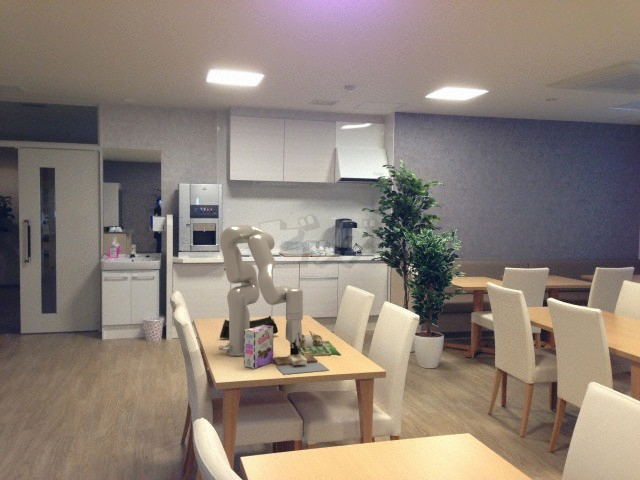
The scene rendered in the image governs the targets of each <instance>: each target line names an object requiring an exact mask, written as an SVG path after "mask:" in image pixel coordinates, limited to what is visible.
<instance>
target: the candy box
mask: <svg viewBox="0 0 640 480" xmlns="http://www.w3.org/2000/svg"><path fill="white" fill-rule="evenodd" d="M273 358H274V334H273V326H268V325H261V326H258V327H254V328H250V329H246V330H244V356H243V367H244V368H248V369H251V370H256V369H259V368H261V367H265V366H267V365H269V364H273V363H274V362H273Z"/></svg>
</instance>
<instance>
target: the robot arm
mask: <svg viewBox="0 0 640 480" xmlns="http://www.w3.org/2000/svg"><path fill="white" fill-rule="evenodd" d="M238 244H239V245H240V244H247V246H248V248H249V251H250V253H251V256H252V259H254V263H255V265H256V267H257V270H258V274H257V271H256V268H255V266H254V265H253V264H252V263H251V262H247V261H243V256H242V253H241V250H240V248H239V247H238ZM219 246H220V249H221V253H222V257H223V264H224V269H225V275H226V280H227V281H228V282H229V283H230V284H240V285H239V286H234V287H231V289H230V290H229V291H228V292H227V296H226V301H227V305H228V316H229V317H228V320H229V338H228V342H227V344H225V345H219V346H218V350H219V351H225V354H226V355H227V356H231V357H244V330H246V329H250V321H251V320H250V317H251V316H250V312H249V308H248V306H249V305H252V304H253V305H254V304H255V303H257V302H258V300H259V298H260V294H261V295H262V298H263V300H265V302H266V303H267V304H268V305H270V306H275V305H280V304H283V303H284V304H285V320H286V323H285V339H286V340H287V341H288V342H289V348H290V349H289V350H290V351H289V352H290V353H289V355H296V354H298V346H299V342H301V341H302V334H303V327H302V321H303V320H304V319H303V318H304V317H303V315H304V311H303V309H304V302H303V301H304V294H303V289H302V288H300V287H290V286H287V285H281V286H280V285H279V286H275V284H274V282H273V278H272V272H273V269H274V268H275V267H276V265H277V262H276V259H275V258H274V255H273V253H272V250H273V249H274V247H275V239H274V237H273V236H272V235H271V234H270V233H268V232H266V231H264V230H261V229H259V228H257V227H255V226H252V225H249V224H247V225H246V224H245V225H236V224H235V225H231V226H228V227H226V228H225V229H224V230H223V231H222V232H221V234H220V238H219Z"/></svg>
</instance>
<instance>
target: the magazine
mask: <svg viewBox="0 0 640 480" xmlns="http://www.w3.org/2000/svg"><path fill="white" fill-rule="evenodd" d="M261 325H268V326H273V335H275V334H277V333H278V332H279V330H278V326H277V324H276V322H275V320H274V317H272V316H271V315H269V316H268V317H264V318H260V319H259V318H258V319H253V320H250V328H254V327H258V326H261ZM219 339H229V319H228V320H227V318H226V319H224V321H223V324H222V328H221V332H220V334H219Z"/></svg>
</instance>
